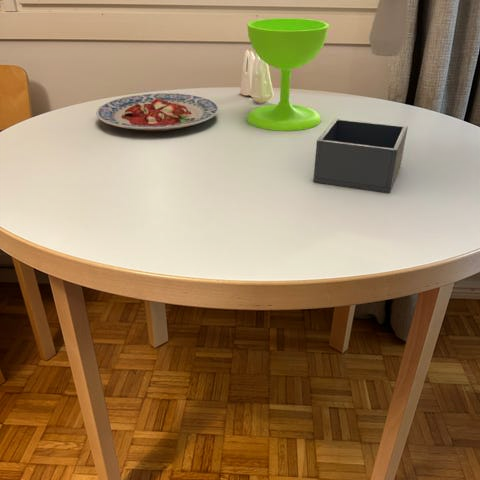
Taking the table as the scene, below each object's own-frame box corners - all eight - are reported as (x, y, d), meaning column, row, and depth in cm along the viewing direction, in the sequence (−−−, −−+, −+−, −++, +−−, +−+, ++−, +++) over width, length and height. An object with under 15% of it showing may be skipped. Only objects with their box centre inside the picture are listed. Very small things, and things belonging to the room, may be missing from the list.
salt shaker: (403, 50, 87) (419, -46, 79) (405, 58, 82) (422, -44, 74) (367, 49, 88) (379, -46, 80) (367, 56, 83) (380, -44, 75)
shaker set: (274, 104, 123) (276, 52, 116) (258, 106, 122) (259, 53, 115) (254, 92, 132) (255, 42, 125) (238, 93, 131) (238, 43, 124)
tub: (400, 165, 92) (407, 126, 88) (389, 193, 83) (397, 150, 79) (330, 156, 96) (334, 118, 92) (313, 182, 87) (316, 140, 82)
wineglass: (332, 115, 116) (342, 22, 105) (301, 135, 105) (307, 34, 94) (268, 104, 123) (271, 16, 112) (232, 122, 112) (231, 26, 101)
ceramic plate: (75, 118, 114) (72, 104, 113) (171, 97, 128) (170, 84, 126) (142, 148, 99) (140, 132, 97) (243, 120, 113) (243, 106, 111)
